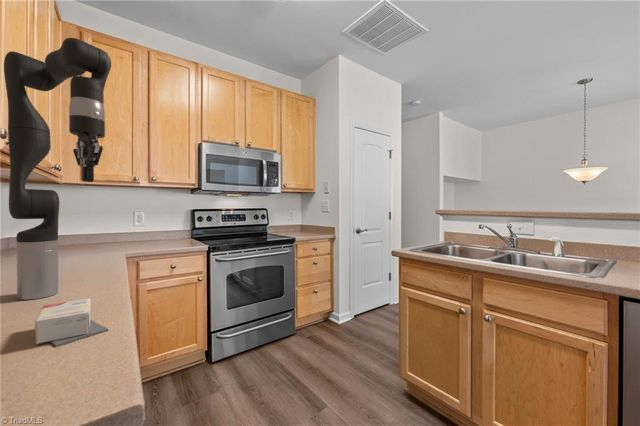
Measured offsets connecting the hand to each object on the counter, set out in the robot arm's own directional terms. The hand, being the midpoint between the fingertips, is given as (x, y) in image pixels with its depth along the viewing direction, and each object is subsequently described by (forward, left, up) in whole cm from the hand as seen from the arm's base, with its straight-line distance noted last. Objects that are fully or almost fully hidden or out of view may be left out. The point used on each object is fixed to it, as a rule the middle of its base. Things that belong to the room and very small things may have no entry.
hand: (87, 181), depth 78 cm
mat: (+15, -8, -35) cm, 39 cm away
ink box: (+8, -7, -32) cm, 34 cm away
